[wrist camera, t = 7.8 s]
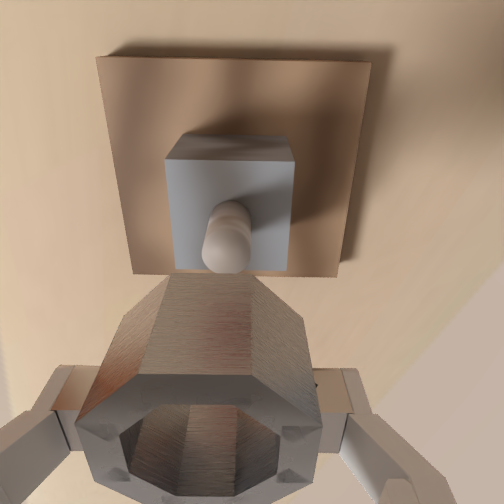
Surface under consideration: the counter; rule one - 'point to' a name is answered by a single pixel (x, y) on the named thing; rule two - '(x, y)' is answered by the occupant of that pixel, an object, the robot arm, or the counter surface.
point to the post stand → (234, 161)
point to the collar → (204, 397)
